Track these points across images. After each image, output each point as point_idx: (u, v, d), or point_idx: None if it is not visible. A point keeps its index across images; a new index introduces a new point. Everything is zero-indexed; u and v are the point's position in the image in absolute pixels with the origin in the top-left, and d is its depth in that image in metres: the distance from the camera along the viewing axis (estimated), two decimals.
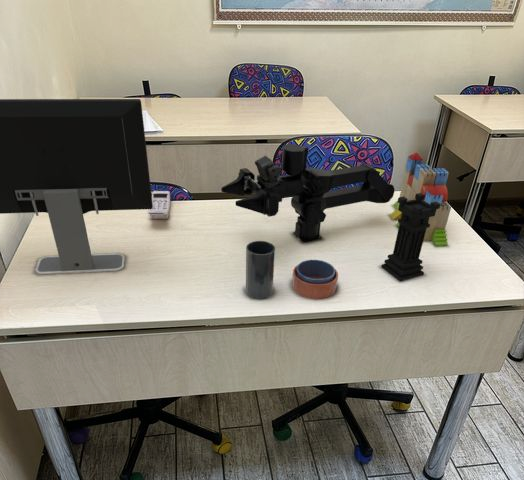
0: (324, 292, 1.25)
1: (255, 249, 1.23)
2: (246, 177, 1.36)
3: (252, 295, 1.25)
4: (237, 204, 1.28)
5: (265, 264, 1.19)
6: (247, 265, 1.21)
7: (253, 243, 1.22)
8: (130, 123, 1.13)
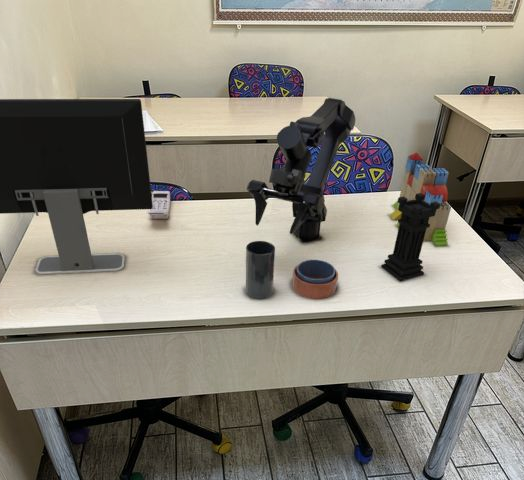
0: (324, 292, 1.25)
1: (255, 249, 1.23)
2: (261, 191, 1.25)
3: (252, 295, 1.25)
4: (292, 232, 1.23)
5: (265, 264, 1.19)
6: (247, 265, 1.21)
7: (253, 243, 1.22)
8: (130, 123, 1.13)
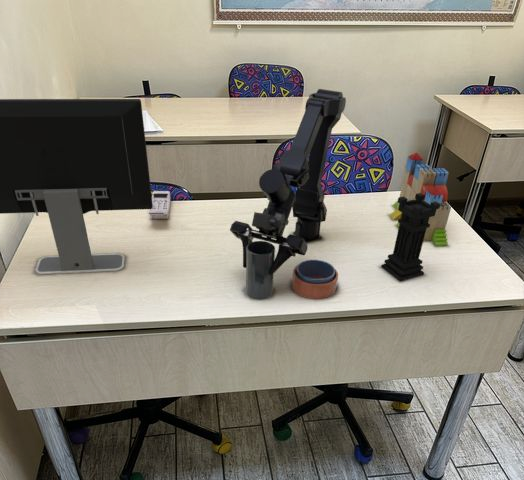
0: (324, 292, 1.25)
1: (255, 249, 1.23)
2: (248, 234, 1.22)
3: (252, 295, 1.25)
4: (272, 274, 1.22)
5: (265, 264, 1.19)
6: (247, 265, 1.21)
7: (253, 243, 1.22)
8: (130, 123, 1.13)
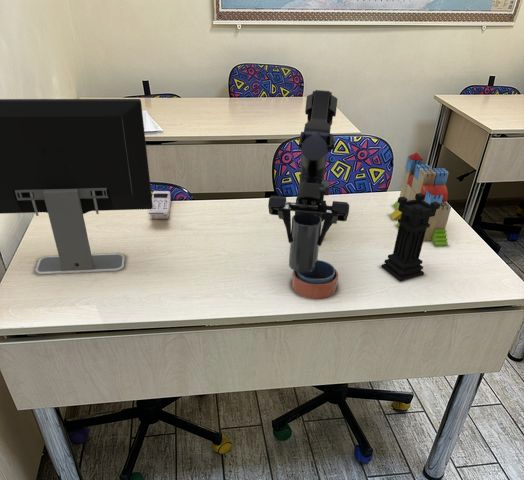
0: (324, 292, 1.25)
1: (297, 221, 1.20)
2: (289, 207, 1.19)
3: (301, 269, 1.22)
4: None
5: (315, 235, 1.17)
6: (296, 239, 1.18)
7: (296, 216, 1.18)
8: (130, 123, 1.13)
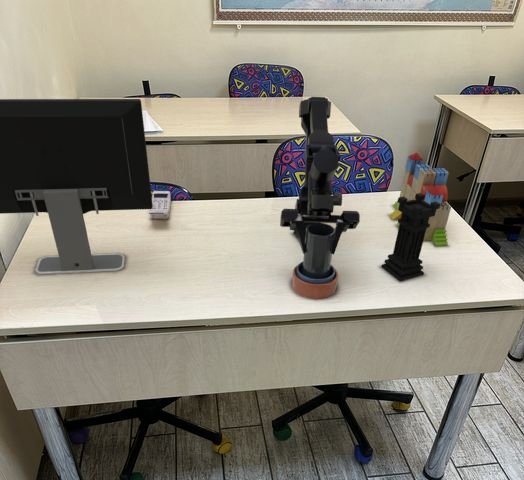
0: (324, 292, 1.25)
1: None
2: (301, 219, 1.22)
3: (316, 278, 1.25)
4: (334, 252, 1.23)
5: (330, 244, 1.20)
6: (311, 249, 1.21)
7: (309, 227, 1.21)
8: (130, 123, 1.13)
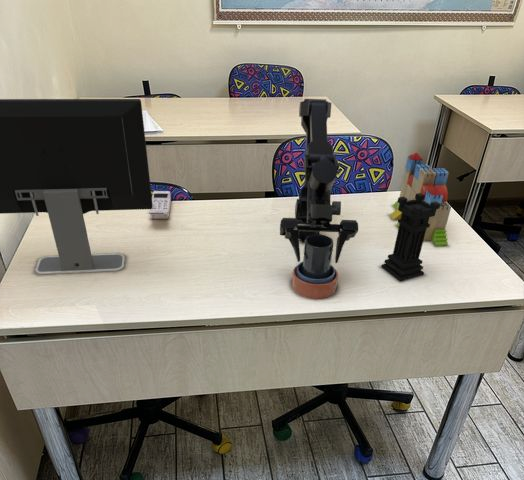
0: (324, 292, 1.25)
1: None
2: (296, 228, 1.23)
3: None
4: (337, 261, 1.25)
5: (329, 255, 1.22)
6: (310, 261, 1.23)
7: (308, 238, 1.23)
8: (130, 123, 1.13)
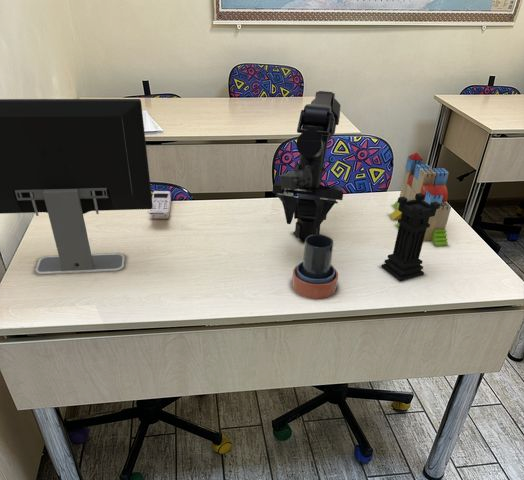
0: (324, 292, 1.25)
1: None
2: (285, 192, 1.30)
3: None
4: (318, 226, 1.27)
5: (329, 255, 1.22)
6: (310, 261, 1.23)
7: (308, 238, 1.23)
8: (130, 123, 1.13)
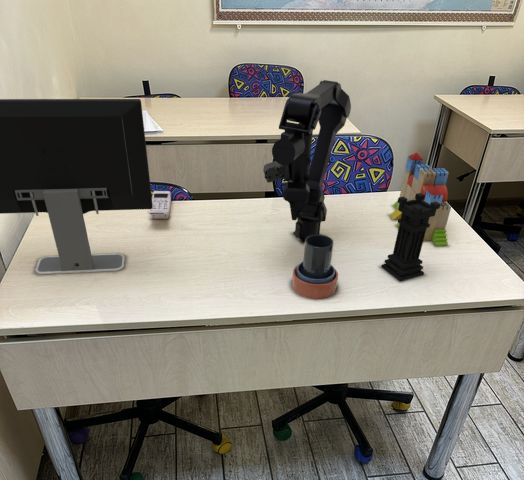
0: (324, 292, 1.25)
1: None
2: None
3: None
4: (295, 219, 1.30)
5: (329, 255, 1.22)
6: (310, 261, 1.23)
7: (308, 238, 1.23)
8: (130, 123, 1.13)
